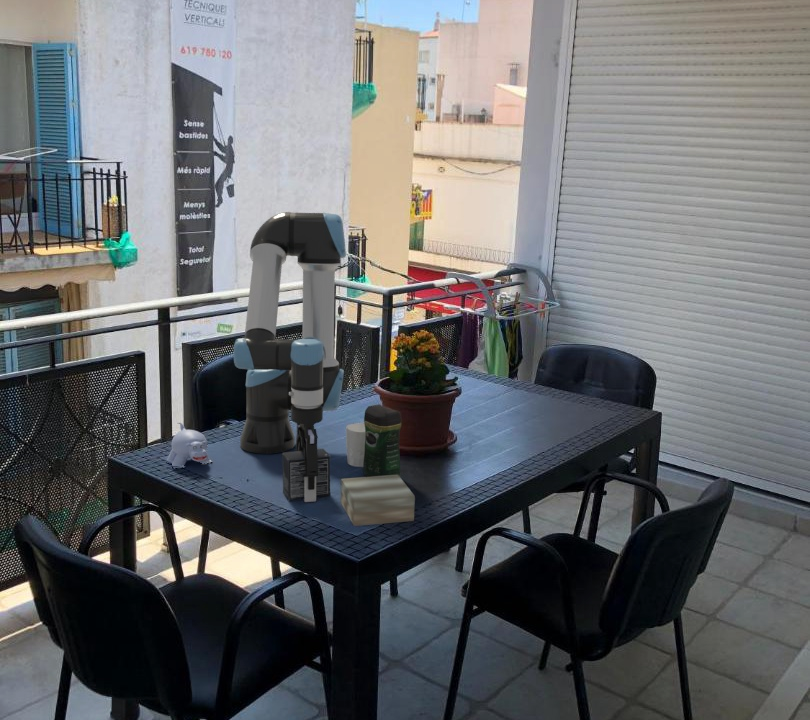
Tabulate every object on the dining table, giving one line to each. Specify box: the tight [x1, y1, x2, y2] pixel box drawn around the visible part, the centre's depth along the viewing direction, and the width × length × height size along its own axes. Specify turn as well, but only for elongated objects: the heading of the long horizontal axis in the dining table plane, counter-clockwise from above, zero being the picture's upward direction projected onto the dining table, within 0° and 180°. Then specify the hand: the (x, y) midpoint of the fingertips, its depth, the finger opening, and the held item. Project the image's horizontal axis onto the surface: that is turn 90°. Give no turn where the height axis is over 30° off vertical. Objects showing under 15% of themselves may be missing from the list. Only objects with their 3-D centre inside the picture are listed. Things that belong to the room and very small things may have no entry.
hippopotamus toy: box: [166, 422, 213, 466], centre depth 243 cm, size 11×15×10 cm
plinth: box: [340, 475, 416, 527], centre depth 216 cm, size 14×14×6 cm
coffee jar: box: [362, 404, 402, 477], centre depth 237 cm, size 10×8×19 cm
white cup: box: [345, 422, 365, 468], centre depth 247 cm, size 8×8×10 cm
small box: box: [282, 448, 331, 502], centre depth 225 cm, size 11×6×10 cm, turn 111°
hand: (306, 493), depth 226 cm, fingers open, 9 cm apart
